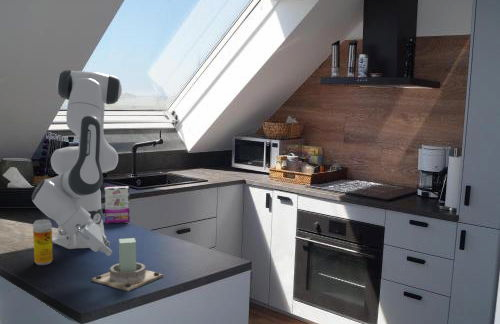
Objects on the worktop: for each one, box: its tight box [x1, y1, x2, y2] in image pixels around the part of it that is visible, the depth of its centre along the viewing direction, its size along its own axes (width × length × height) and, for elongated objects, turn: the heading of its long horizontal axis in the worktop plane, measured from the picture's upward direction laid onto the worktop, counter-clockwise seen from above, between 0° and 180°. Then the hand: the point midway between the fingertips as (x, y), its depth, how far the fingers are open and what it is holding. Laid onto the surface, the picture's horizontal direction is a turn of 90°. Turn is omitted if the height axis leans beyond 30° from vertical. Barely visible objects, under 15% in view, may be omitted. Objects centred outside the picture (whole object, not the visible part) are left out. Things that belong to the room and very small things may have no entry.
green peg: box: [118, 237, 137, 272], centre depth 176 cm, size 5×5×12 cm
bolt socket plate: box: [91, 261, 164, 292], centre depth 177 cm, size 16×16×4 cm
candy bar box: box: [103, 185, 131, 224], centre depth 250 cm, size 11×5×16 cm, turn 104°
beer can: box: [32, 218, 54, 266], centre depth 191 cm, size 6×6×15 cm
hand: (109, 249), depth 174 cm, fingers open, 8 cm apart
